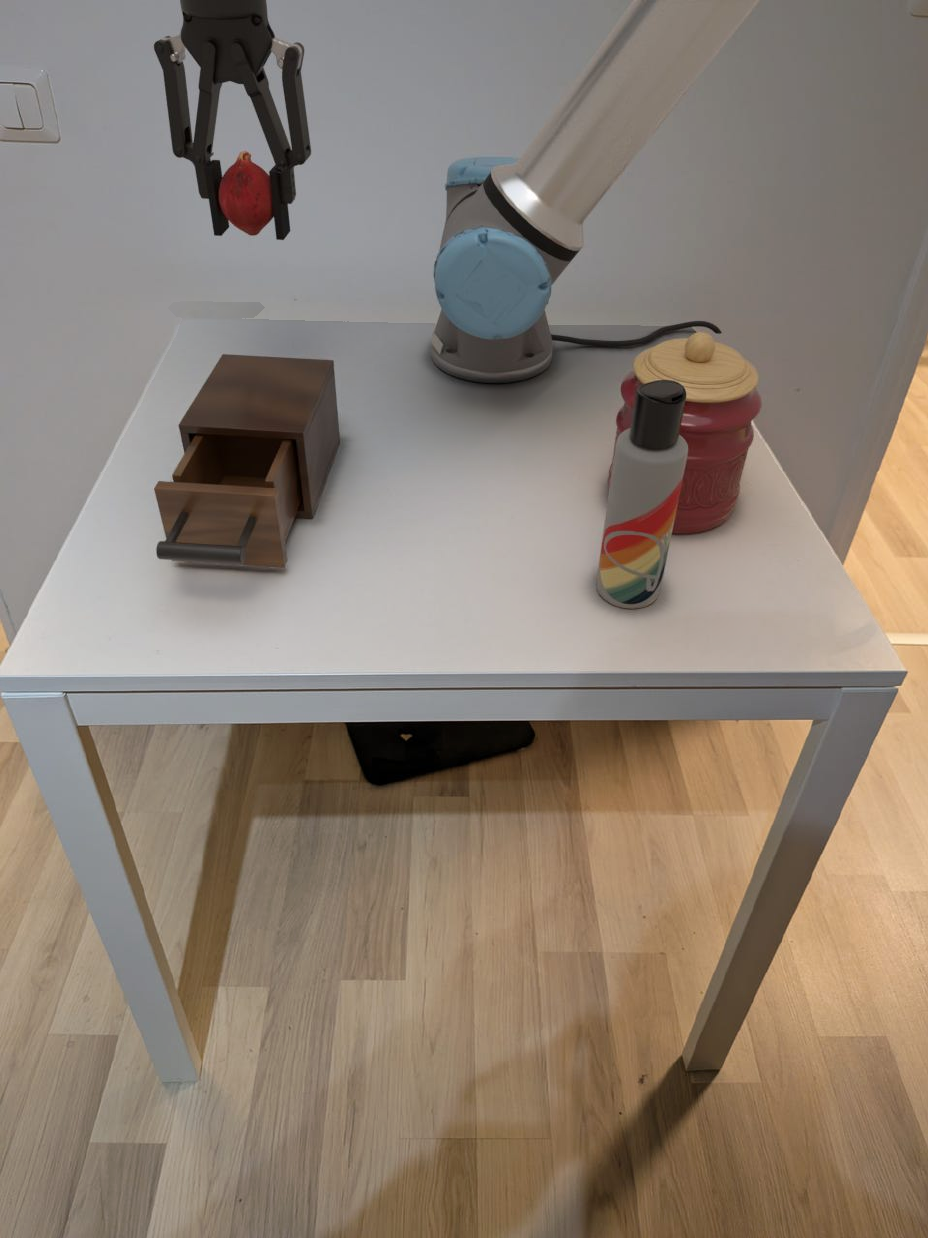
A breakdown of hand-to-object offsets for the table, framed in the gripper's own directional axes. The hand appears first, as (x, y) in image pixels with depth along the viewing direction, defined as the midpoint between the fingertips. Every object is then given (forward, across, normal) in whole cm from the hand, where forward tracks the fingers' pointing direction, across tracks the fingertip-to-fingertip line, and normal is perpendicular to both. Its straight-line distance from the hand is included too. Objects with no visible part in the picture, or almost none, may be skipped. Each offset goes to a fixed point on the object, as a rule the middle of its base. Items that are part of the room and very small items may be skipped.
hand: (252, 232), depth 96 cm
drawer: (+18, +5, -28) cm, 34 cm away
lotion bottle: (+19, +41, -30) cm, 54 cm away
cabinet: (+19, +4, -16) cm, 25 cm away
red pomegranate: (0, 0, 0) cm, 0 cm away
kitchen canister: (+19, +45, -14) cm, 51 cm away
